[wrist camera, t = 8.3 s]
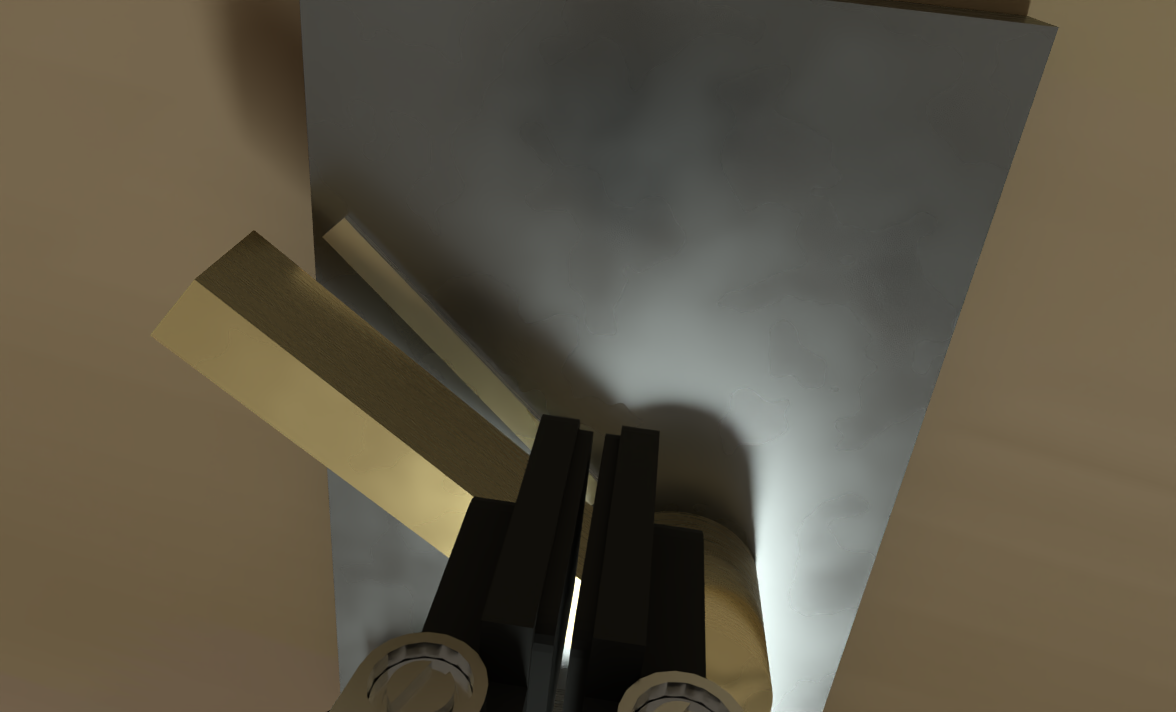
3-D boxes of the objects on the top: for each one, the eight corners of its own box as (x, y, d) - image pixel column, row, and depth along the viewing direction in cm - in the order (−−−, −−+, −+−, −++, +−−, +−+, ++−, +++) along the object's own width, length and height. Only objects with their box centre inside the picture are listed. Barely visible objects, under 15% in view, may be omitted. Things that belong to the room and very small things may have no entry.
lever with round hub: (310, 168, 18) (213, 245, 14) (793, 584, 22) (819, 728, 18) (200, 304, 19) (88, 404, 16) (667, 664, 24) (667, 811, 20)
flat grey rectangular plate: (1027, 16, 17) (1125, 51, 13) (783, 766, 28) (800, 895, 24) (324, -66, 17) (233, -54, 14) (358, 707, 28) (314, 827, 25)
